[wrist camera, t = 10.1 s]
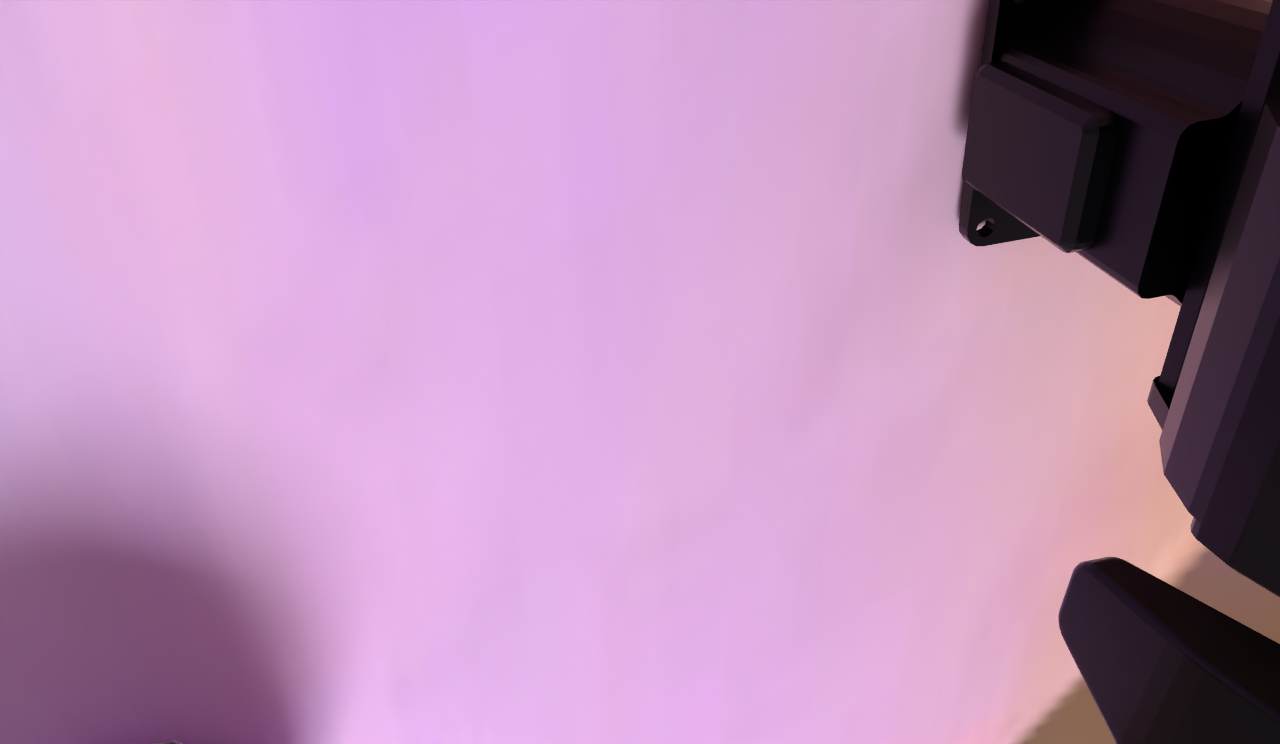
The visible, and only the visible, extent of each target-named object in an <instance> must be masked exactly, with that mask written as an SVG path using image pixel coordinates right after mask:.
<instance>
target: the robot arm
mask: <svg viewBox="0 0 1280 744" xmlns="http://www.w3.org/2000/svg"><path fill="white" fill-rule="evenodd" d="M962 177H963V179H964V180H965V184H964V191H963V198H962V206H961V213H960V220H959V231H960V233H961V235H962V236H963V237H964V238H965V239H966V240H967V241H969V242H970V243H971V244H973V245H975V246H987V245H992V244H998V243H1004V242H1009V241H1015V240H1021V239H1026V238H1032V237H1037V236H1042V237H1043V238H1045V239H1046V240H1047V241H1049V242H1050V243H1052V244H1053V245H1055V246H1056V247H1057V248H1059V249H1060V250H1062V251H1063V252H1066V253H1070V252H1076V253H1078V254H1079V255H1081V256H1082V257H1084V258H1085V259H1086V260H1088V261H1089V262H1091V263H1092V264H1094V265H1095V266H1097V267H1098V268H1099V269H1101V270H1102V271H1104V272H1105V273H1107V274H1108V275H1109V276H1111V277H1112V278H1114V279H1115V280H1117V281H1118V282H1119V283H1121V284H1122V285H1124V286H1125V287H1127V288H1128V289H1129V290H1131V291H1132V292H1134V293H1135V294H1137V295H1138V296H1139V297H1141V298H1147V299H1149V298H1154V297H1160V296H1166V297H1168V298H1169V299H1171V300H1172V301H1174V302H1175V303H1177V304H1178V305H1180V306H1181V309H1180V312H1179V316H1178V319H1177V322H1176V326H1175V329H1174V332H1173V336H1172V339H1171V342H1170V346H1169V349H1168V352H1167V356H1166V359H1165V362H1164V366H1163V369H1162V372H1161V376H1158V377H1156V378H1155V379H1154V380H1153V383H1152V386H1151V390H1150V393H1149V396H1148V400H1147V401H1148V404H1149V406H1150V408H1151V410H1152V412H1153V414H1154V416H1155V417H1156V419H1157V421H1158V423H1159V425H1160V427H1161V428H1162V430H1163V431H1162V434H1161V437H1160V440H1159V441H1160V449H1161V456H1162V464H1163V471H1164V475H1165V476H1166V478H1167V479H1168V481H1169V482H1170V484H1171V486H1172V487H1173V489H1174V490H1175V492H1176V493H1177V495H1178V496H1179V498H1180V499H1181V501H1182V503H1183V504H1184V506H1185V507H1186V509H1187V510H1188V512H1189V513H1190V514H1191V515H1192V516H1193V517H1194V518H1193V521H1192V523H1191V532H1192V534H1193V535H1194V537H1195V538H1196V539H1197V540H1198V541H1199V542H1201V543H1202V544H1203V545H1204V546H1206V547H1207V548H1208V549H1209V550H1210V551H1212V552H1213V553H1214V554H1215V555H1216V556H1218V557H1219V558H1220V559H1221V560H1223V561H1224V562H1225V563H1226V564H1227V565H1229V566H1230V567H1231V568H1233V569H1234V570H1235V571H1237V572H1238V573H1240V574H1241V575H1243V576H1245V577H1246V578H1248V579H1250V580H1251V581H1253V582H1255V583H1256V584H1258V585H1260V586H1261V587H1263V588H1265V589H1266V590H1268V591H1270V592H1271V593H1273V594H1275V595H1276V596H1278V597H1280V0H989V7H988V15H987V22H986V29H985V37H984V44H983V51H982V59H981V66H980V69H979V71H978V72H977V74H976V76H975V80H974V87H973V95H972V102H971V110H970V117H969V125H968V132H967V140H966V147H965V154H964V162H963V169H962ZM984 219H987V221H986V223H985V225H984V226H983V227H982V228H981V229H979V230H977V231H976V229H977V226H978V224H979V223H980V222H981V221H982V220H984ZM1059 627H1060V630H1061V634H1062V636H1063V639H1064V641H1065V643H1066V645H1067V647H1068V649H1069V651H1070V653H1071V655H1072V657H1073V659H1074V661H1075V663H1076V664H1077V666H1078V668H1079V670H1080V672H1081V674H1082V676H1083V678H1084V680H1085V682H1086V684H1087V686H1088V688H1089V690H1090V692H1091V694H1092V696H1093V698H1094V700H1095V702H1096V704H1097V706H1098V708H1099V710H1100V712H1101V714H1102V716H1103V718H1104V720H1105V722H1106V724H1107V726H1108V728H1109V730H1110V732H1111V734H1112V736H1113V738H1114V740H1115V742H1116V744H1280V644H1278V643H1276V642H1275V641H1273V640H1271V639H1269V638H1267V637H1265V636H1263V635H1262V634H1260V633H1258V632H1256V631H1254V630H1252V629H1251V628H1249V627H1247V626H1245V625H1243V624H1241V623H1239V622H1238V621H1236V620H1234V619H1232V618H1230V617H1228V616H1227V615H1225V614H1223V613H1221V612H1219V611H1217V610H1216V609H1214V608H1212V607H1210V606H1208V605H1206V604H1204V603H1203V602H1201V601H1199V600H1197V599H1195V598H1193V597H1191V596H1190V595H1188V594H1186V593H1184V592H1182V591H1180V590H1179V589H1177V588H1175V587H1173V586H1171V585H1169V584H1168V583H1166V582H1164V581H1162V580H1160V579H1158V578H1156V577H1155V576H1153V575H1151V574H1149V573H1147V572H1145V571H1143V570H1142V569H1140V568H1138V567H1136V566H1134V565H1132V564H1131V563H1129V562H1127V561H1125V560H1122V559H1120V558H1116V557H1105V558H1100V559H1095V560H1090V561H1085V562H1082V563H1080V564H1078V565H1077V566H1076V567H1075V569H1074V571H1073V573H1072V576H1071V579H1070V582H1069V585H1068V587H1067V590H1066V593H1065V596H1064V599H1063V602H1062V605H1061V608H1060V611H1059ZM154 744H182V743H180V742H178V741H176V740H169V741H164V742H159V743H154Z"/></svg>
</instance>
